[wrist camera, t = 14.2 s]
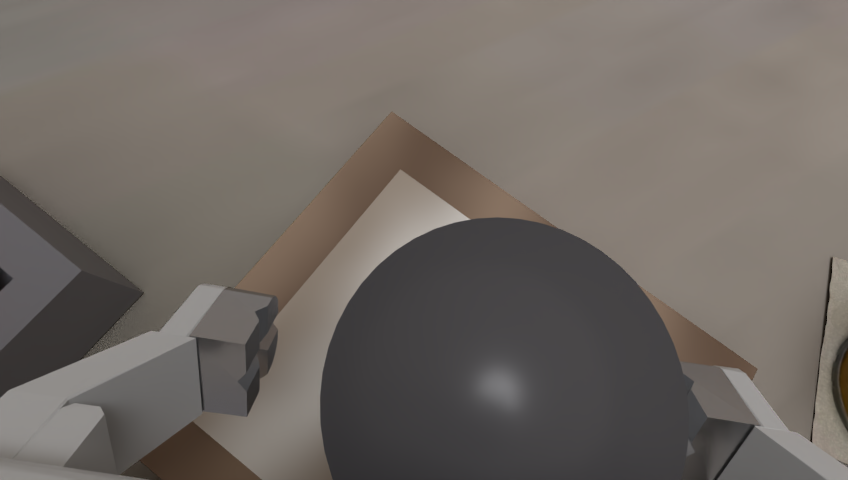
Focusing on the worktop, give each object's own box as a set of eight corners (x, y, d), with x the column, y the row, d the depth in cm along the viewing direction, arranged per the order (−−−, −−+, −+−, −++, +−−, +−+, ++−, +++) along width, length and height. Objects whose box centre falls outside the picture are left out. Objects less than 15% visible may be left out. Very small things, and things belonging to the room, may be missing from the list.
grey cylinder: (338, 395, 17) (238, 438, 6) (416, 292, 18) (464, 154, 7) (442, 478, 17) (568, 711, 5) (515, 367, 18) (749, 355, 6)
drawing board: (122, 428, 18) (101, 432, 16) (391, 123, 22) (391, 107, 21) (530, 782, 16) (543, 817, 14) (739, 369, 20) (763, 368, 19)
